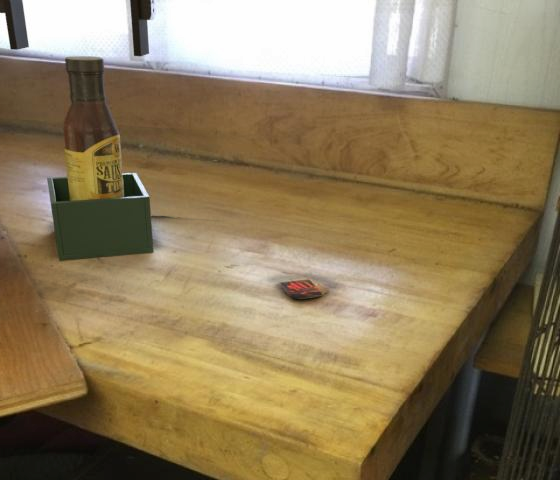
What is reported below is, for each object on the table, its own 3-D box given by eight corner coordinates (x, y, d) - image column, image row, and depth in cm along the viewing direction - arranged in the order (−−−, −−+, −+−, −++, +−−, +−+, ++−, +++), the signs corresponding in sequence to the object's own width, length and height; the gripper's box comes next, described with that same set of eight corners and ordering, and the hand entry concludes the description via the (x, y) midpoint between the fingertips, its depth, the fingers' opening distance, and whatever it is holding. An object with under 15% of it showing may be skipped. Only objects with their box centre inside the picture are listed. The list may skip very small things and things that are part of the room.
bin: (59, 260, 79) (50, 203, 76) (54, 230, 88) (47, 177, 84) (153, 252, 82) (149, 196, 79) (140, 223, 91) (136, 172, 87)
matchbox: (299, 303, 70) (299, 299, 70) (270, 286, 74) (270, 282, 73) (335, 293, 73) (335, 289, 72) (305, 277, 76) (305, 273, 76)
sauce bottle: (111, 248, 81) (92, 62, 71) (64, 241, 82) (38, 58, 72) (137, 230, 86) (123, 56, 76) (92, 225, 88) (72, 52, 78)
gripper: (-100, -214, 62) (-49, 49, 72) (174, -212, 59) (184, 61, 69) (-52, -198, 68) (-12, 42, 79) (197, -195, 65) (203, 53, 76)
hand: (80, 52), depth 74 cm, fingers open, 13 cm apart
